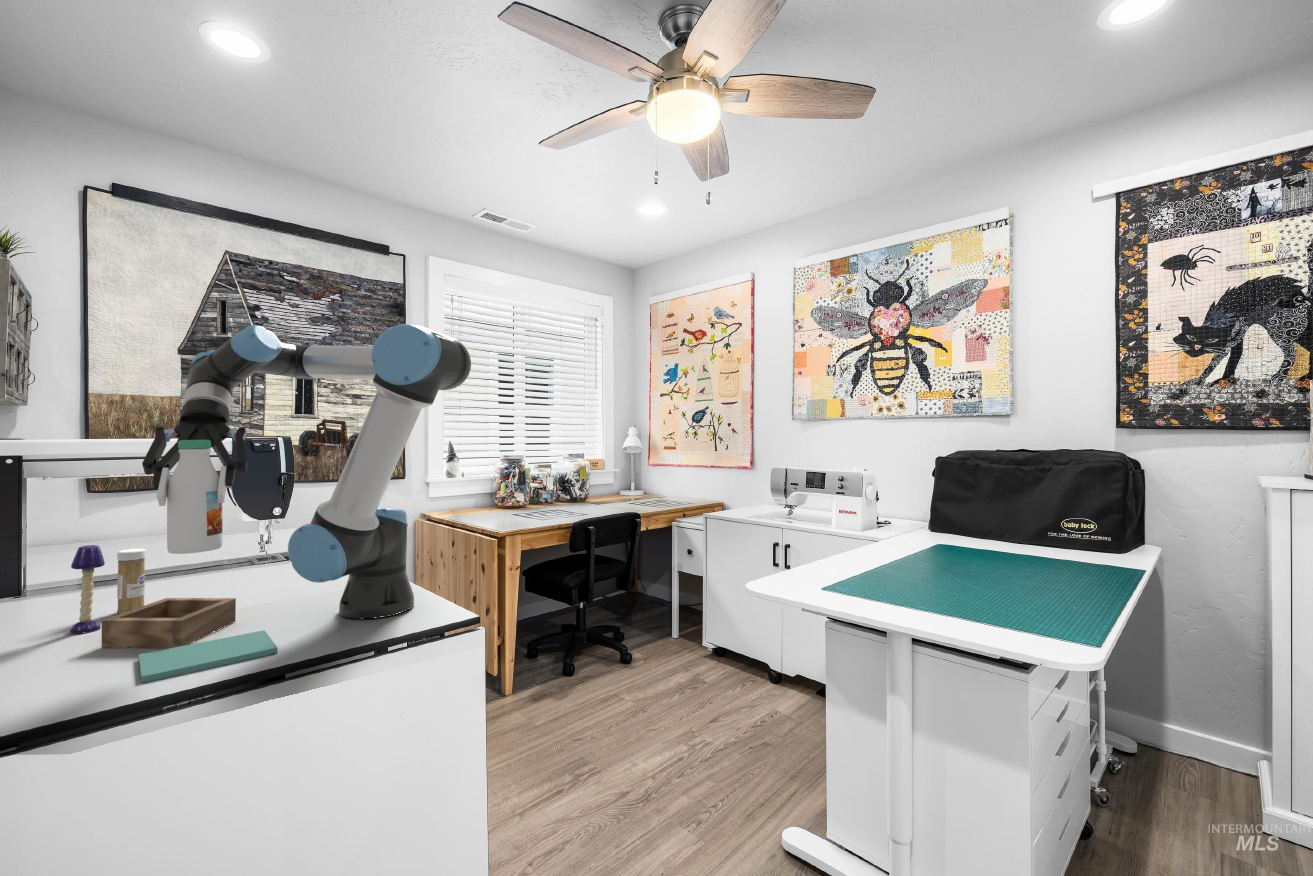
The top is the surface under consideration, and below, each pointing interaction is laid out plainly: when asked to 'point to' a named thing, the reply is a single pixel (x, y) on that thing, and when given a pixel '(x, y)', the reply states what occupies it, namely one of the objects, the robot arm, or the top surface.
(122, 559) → the sprinkles bottle
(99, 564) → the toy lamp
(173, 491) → the milk bottle
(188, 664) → the green mat
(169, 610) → the walnut holder
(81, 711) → the top surface
